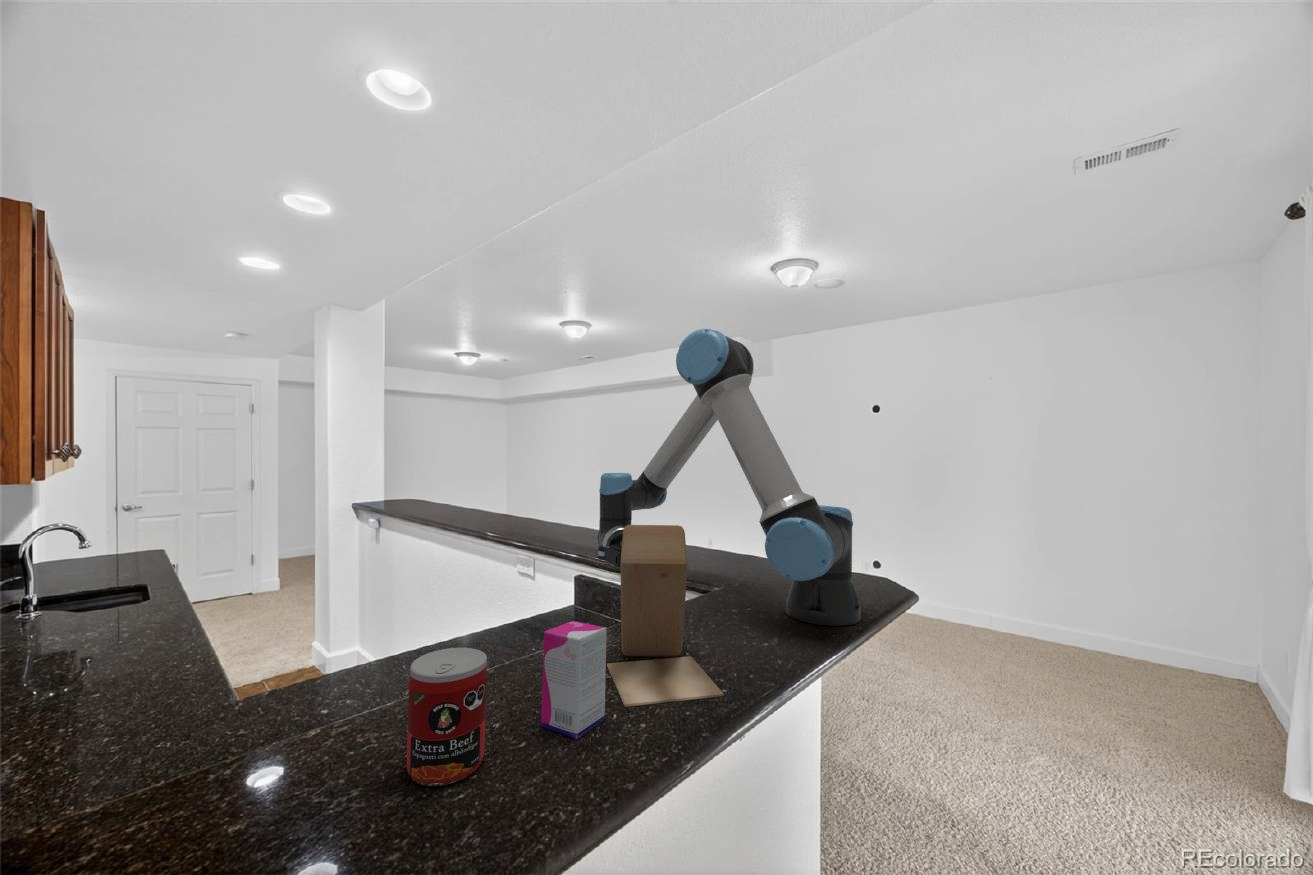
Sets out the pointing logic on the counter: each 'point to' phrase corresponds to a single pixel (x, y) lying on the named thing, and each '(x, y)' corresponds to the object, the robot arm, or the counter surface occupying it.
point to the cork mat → (661, 681)
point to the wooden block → (653, 590)
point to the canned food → (446, 714)
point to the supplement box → (573, 678)
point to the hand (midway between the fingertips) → (647, 567)
